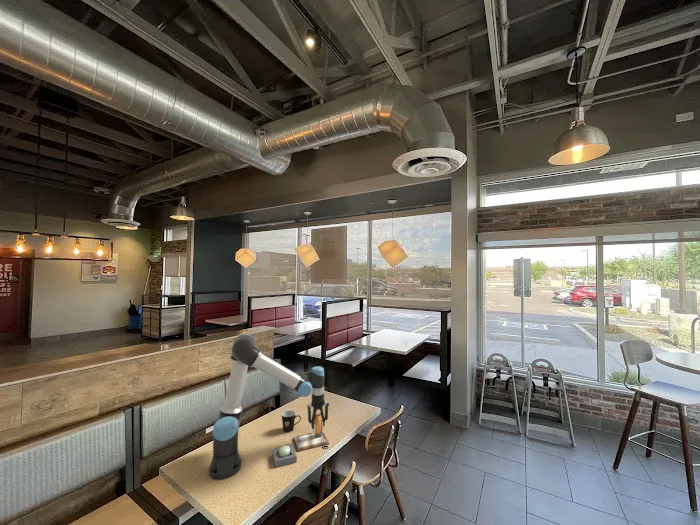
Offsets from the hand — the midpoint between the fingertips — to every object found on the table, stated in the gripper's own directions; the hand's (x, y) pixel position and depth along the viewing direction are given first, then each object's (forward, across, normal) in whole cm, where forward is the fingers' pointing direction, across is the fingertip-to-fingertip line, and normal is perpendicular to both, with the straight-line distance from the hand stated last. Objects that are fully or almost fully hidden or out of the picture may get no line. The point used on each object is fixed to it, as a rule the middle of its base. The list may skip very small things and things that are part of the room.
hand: (318, 432), depth 173 cm
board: (+3, -5, -2) cm, 6 cm away
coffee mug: (+3, -14, +15) cm, 21 cm away
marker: (+1, 0, 0) cm, 1 cm away
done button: (+1, -22, -12) cm, 25 cm away
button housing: (+3, -22, -12) cm, 25 cm away
